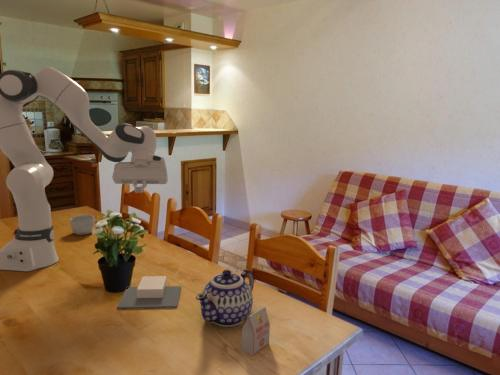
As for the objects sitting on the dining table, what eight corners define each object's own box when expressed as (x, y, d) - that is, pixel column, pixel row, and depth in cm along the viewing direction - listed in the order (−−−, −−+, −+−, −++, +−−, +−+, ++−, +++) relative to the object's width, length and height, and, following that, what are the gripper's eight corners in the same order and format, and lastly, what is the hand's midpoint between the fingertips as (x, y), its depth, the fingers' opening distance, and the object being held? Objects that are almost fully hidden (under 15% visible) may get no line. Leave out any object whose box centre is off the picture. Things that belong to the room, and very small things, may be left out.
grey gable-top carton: (241, 350, 100) (242, 314, 98) (258, 339, 105) (259, 304, 103) (252, 356, 98) (253, 319, 96) (269, 344, 103) (270, 309, 101)
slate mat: (117, 308, 119) (116, 307, 119) (127, 288, 133) (127, 286, 133) (177, 307, 121) (177, 306, 120) (181, 287, 134) (181, 286, 134)
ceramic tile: (142, 285, 134) (137, 298, 124) (142, 276, 134) (136, 289, 124) (166, 284, 135) (162, 298, 125) (166, 276, 134) (162, 289, 125)
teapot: (235, 296, 130) (236, 253, 127) (272, 311, 121) (274, 265, 118) (176, 325, 111) (176, 276, 108) (215, 346, 101) (216, 292, 99)
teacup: (89, 236, 185) (88, 220, 183) (66, 236, 185) (65, 219, 183) (100, 228, 199) (100, 212, 197) (79, 227, 199) (78, 212, 197)
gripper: (113, 157, 150) (107, 187, 142) (167, 157, 152) (165, 187, 144) (116, 167, 155) (111, 196, 147) (169, 167, 157) (166, 196, 149)
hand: (138, 192), depth 146 cm, fingers closed
